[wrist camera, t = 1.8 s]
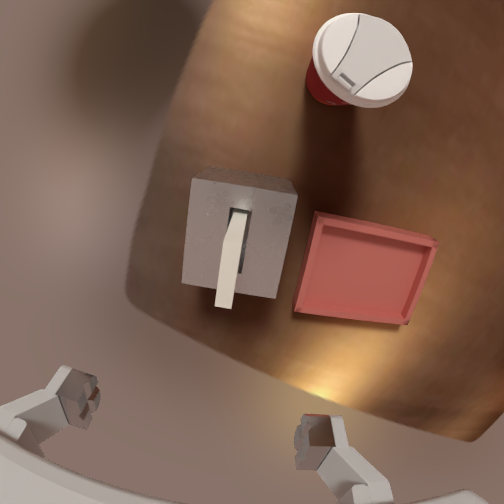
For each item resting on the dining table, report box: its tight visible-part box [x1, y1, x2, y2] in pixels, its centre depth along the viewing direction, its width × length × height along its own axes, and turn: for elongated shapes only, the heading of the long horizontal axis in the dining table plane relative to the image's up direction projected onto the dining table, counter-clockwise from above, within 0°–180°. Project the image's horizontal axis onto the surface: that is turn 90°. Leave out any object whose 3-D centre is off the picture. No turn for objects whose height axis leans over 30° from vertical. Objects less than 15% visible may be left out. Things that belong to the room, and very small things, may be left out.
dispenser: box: [182, 166, 298, 299], centre depth 32 cm, size 9×10×9 cm
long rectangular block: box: [215, 208, 248, 309], centre depth 27 cm, size 1×5×12 cm, turn 171°
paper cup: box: [306, 13, 413, 108], centre depth 24 cm, size 8×8×14 cm
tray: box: [293, 211, 439, 325], centre depth 37 cm, size 16×12×2 cm
